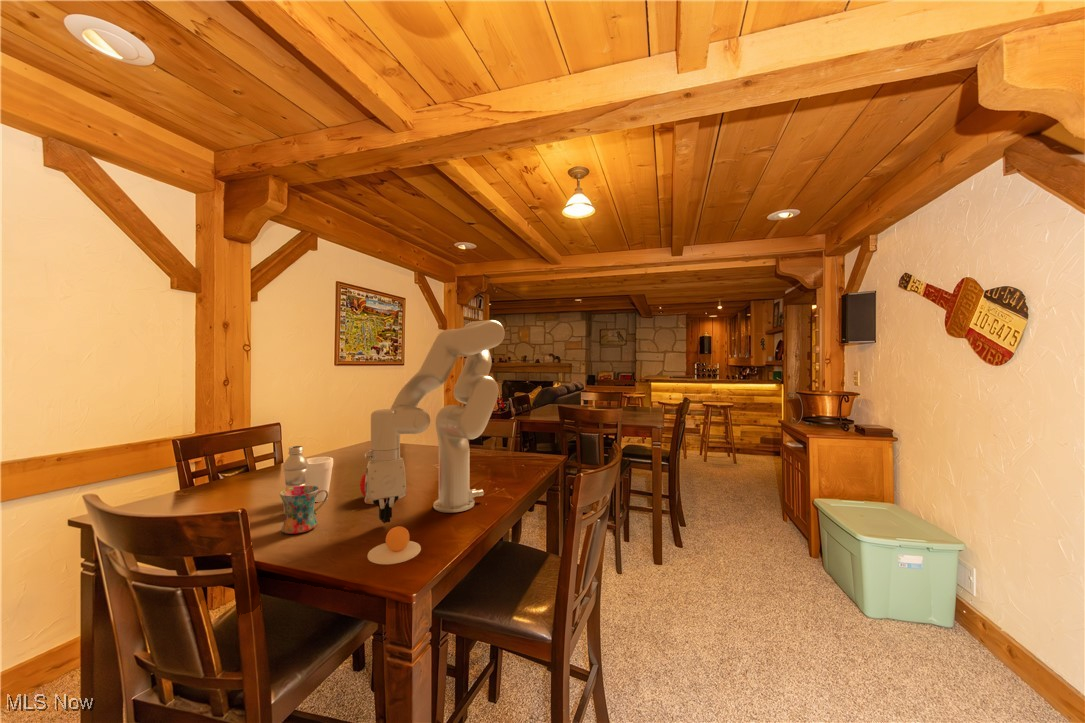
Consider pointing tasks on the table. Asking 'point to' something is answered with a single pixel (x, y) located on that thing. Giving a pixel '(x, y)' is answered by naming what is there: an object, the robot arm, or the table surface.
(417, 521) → the table surface
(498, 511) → the table surface
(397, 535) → the ball
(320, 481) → the foam cup
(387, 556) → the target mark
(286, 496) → the mug
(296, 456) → the plastic bottle
